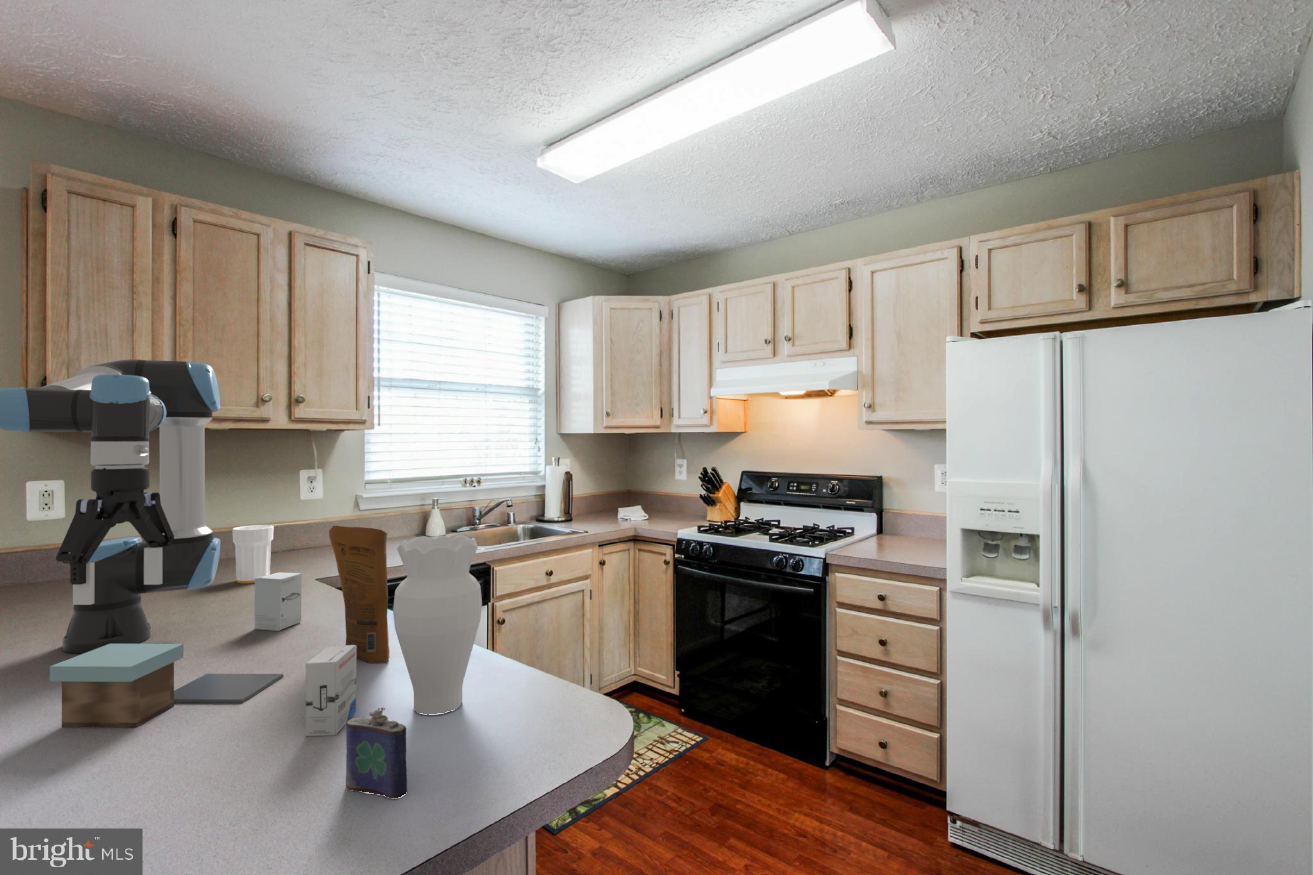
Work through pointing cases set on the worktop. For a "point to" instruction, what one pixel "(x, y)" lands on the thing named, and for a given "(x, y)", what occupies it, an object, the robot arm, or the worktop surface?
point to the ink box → (330, 690)
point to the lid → (116, 663)
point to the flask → (376, 755)
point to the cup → (252, 552)
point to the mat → (224, 688)
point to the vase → (437, 618)
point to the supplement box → (277, 601)
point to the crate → (118, 700)
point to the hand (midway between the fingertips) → (120, 593)
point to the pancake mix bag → (363, 589)
